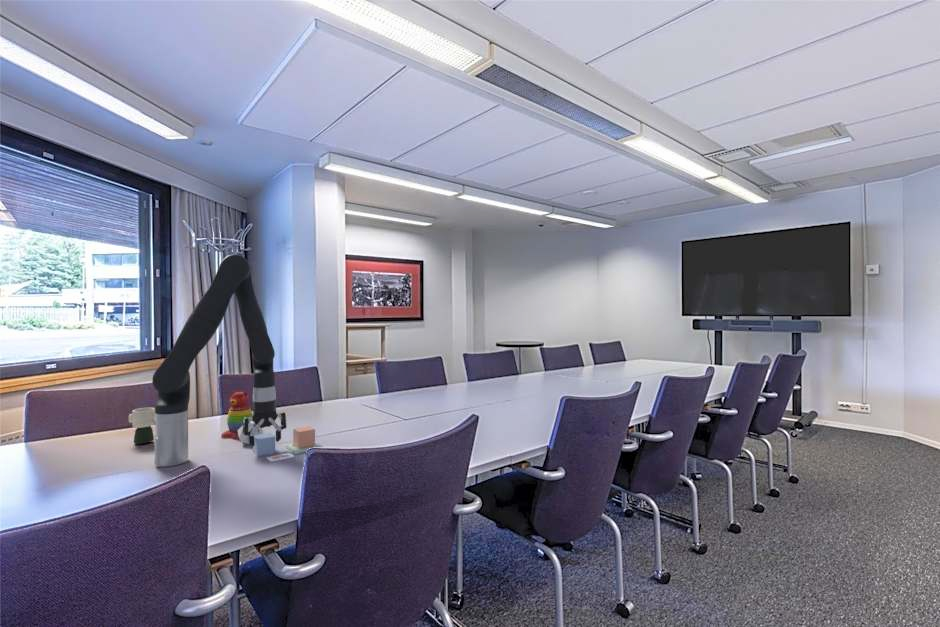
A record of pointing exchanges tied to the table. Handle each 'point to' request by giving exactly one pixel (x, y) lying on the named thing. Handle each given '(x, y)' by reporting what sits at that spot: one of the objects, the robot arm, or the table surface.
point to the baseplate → (300, 450)
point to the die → (245, 438)
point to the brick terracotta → (303, 437)
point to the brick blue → (264, 444)
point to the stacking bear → (237, 414)
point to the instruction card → (280, 457)
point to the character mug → (143, 424)
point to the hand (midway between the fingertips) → (265, 443)
